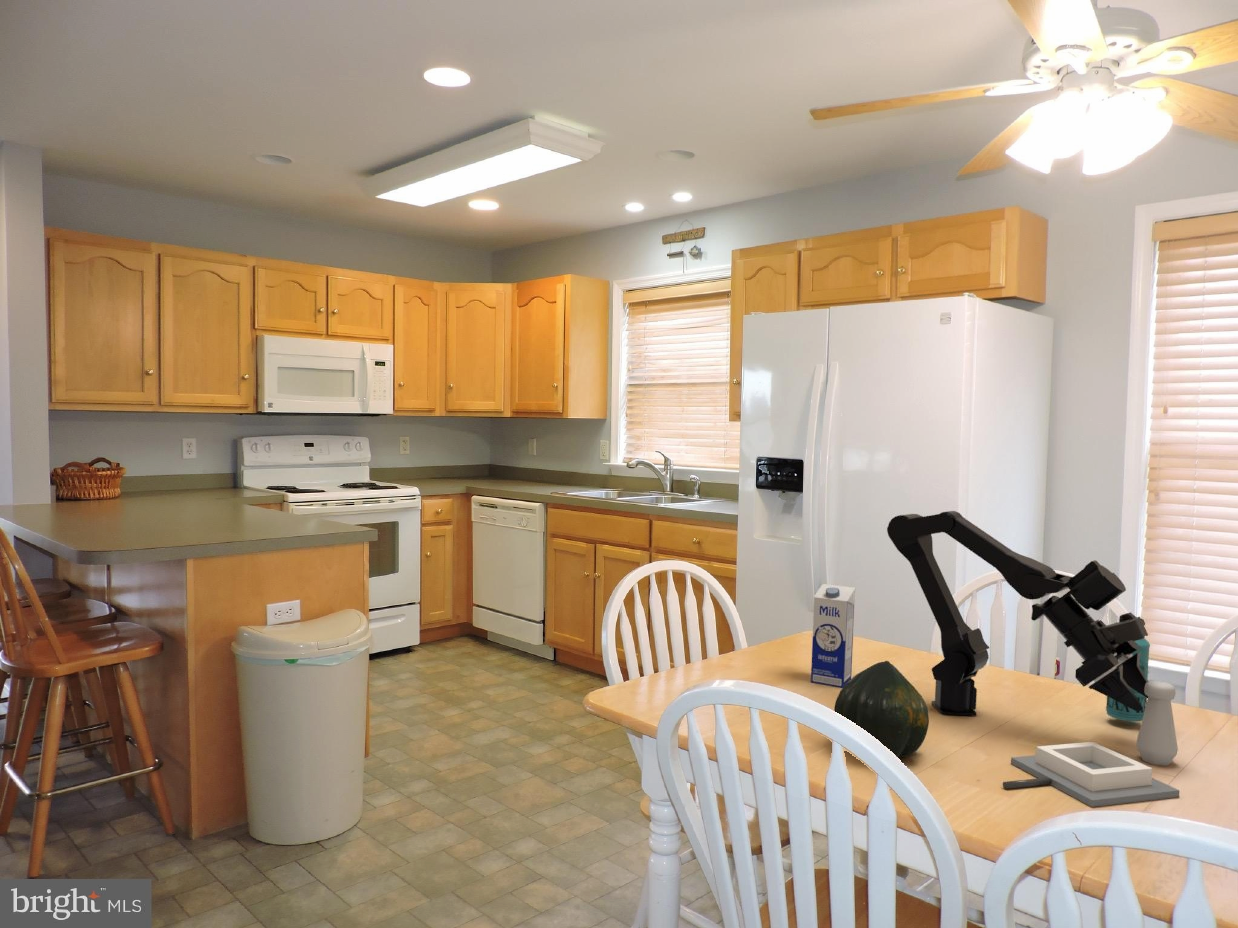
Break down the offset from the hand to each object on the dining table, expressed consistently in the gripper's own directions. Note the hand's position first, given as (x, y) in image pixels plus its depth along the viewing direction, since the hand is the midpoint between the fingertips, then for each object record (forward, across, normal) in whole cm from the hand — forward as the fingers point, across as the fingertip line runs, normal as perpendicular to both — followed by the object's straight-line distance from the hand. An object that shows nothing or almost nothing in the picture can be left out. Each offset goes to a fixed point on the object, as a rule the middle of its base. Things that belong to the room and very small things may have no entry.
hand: (1147, 703), depth 140 cm
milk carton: (-34, -1, +47) cm, 58 cm away
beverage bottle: (+2, +17, +11) cm, 20 cm away
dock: (+2, -20, +11) cm, 23 cm away
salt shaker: (+8, 0, +5) cm, 9 cm away
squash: (-16, -30, +29) cm, 45 cm away
